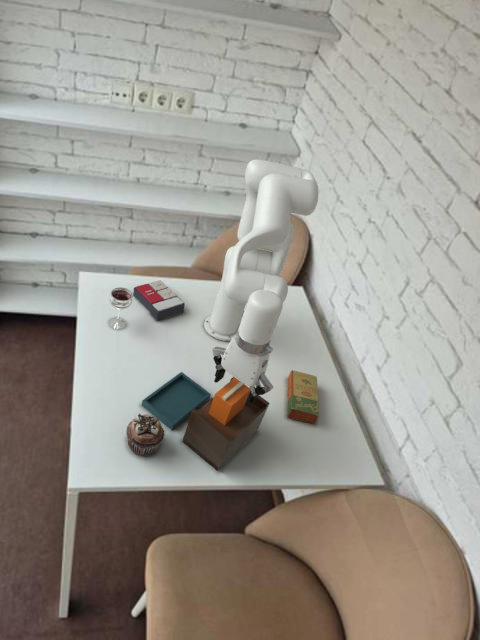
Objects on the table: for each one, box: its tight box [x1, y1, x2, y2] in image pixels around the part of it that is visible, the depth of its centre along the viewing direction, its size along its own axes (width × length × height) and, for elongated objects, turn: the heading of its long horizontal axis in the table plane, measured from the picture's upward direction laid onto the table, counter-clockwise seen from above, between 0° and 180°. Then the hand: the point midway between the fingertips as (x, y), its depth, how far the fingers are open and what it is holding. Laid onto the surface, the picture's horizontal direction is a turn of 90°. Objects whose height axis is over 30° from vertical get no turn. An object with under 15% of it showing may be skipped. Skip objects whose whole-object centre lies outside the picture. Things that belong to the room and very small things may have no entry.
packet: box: [209, 377, 251, 426], centre depth 135 cm, size 8×5×8 cm, turn 140°
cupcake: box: [125, 413, 165, 457], centre depth 134 cm, size 10×10×10 cm
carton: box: [286, 369, 320, 425], centre depth 158 cm, size 8×16×4 cm, turn 171°
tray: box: [141, 371, 212, 431], centre depth 149 cm, size 17×11×2 cm
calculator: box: [132, 279, 186, 321], centre depth 180 cm, size 11×4×15 cm
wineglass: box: [109, 286, 134, 330], centre depth 166 cm, size 7×7×12 cm
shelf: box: [181, 376, 270, 472], centre depth 139 cm, size 18×12×12 cm, turn 140°
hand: (233, 390), depth 132 cm, fingers open, 9 cm apart
